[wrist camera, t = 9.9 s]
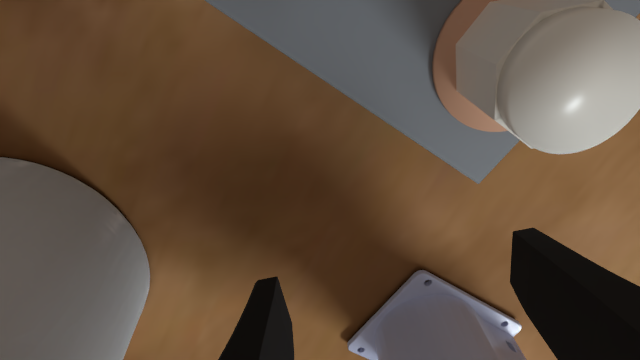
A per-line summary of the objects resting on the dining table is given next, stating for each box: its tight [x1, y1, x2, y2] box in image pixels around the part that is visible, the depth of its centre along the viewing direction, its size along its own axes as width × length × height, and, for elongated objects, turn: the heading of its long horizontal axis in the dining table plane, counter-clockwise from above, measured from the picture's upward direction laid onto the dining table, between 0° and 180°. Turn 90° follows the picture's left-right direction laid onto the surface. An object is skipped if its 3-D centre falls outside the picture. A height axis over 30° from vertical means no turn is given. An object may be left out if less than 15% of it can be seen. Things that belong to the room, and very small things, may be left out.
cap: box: [456, 0, 640, 154], centre depth 16 cm, size 5×5×5 cm
